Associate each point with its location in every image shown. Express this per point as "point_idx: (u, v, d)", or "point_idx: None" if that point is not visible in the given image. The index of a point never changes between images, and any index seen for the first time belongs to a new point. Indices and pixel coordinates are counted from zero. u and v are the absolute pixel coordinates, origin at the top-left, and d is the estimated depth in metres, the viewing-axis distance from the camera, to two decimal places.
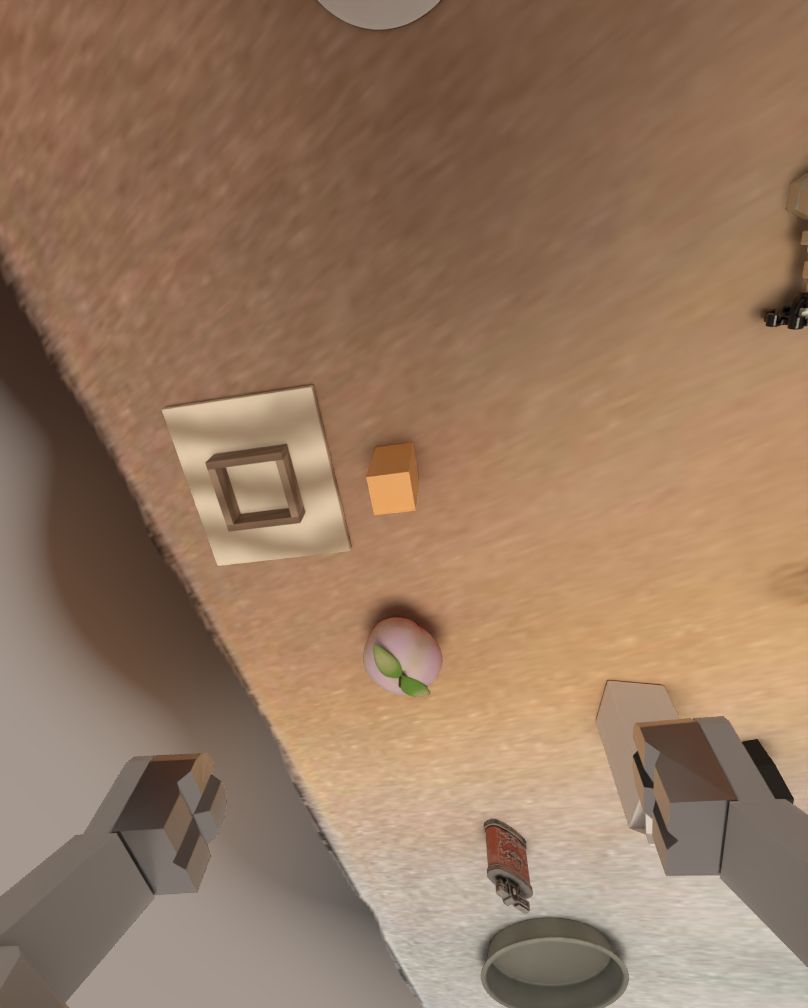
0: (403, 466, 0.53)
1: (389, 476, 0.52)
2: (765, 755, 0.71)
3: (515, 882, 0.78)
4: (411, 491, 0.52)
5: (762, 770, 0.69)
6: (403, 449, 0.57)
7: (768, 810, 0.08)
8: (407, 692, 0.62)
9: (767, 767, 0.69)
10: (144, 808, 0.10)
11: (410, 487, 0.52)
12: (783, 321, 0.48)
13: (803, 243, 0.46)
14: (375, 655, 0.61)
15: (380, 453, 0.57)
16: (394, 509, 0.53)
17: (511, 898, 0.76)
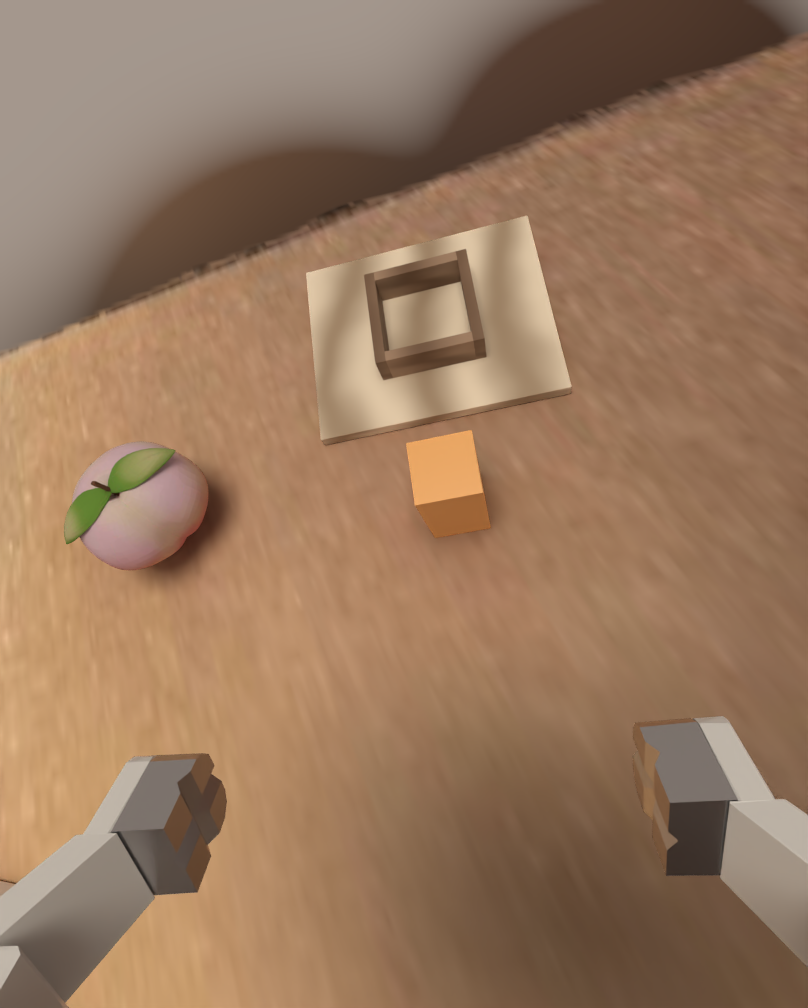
0: None
1: (474, 463, 0.33)
2: None
3: None
4: (448, 497, 0.32)
5: None
6: None
7: (768, 810, 0.08)
8: (77, 500, 0.36)
9: None
10: (144, 808, 0.10)
11: (455, 496, 0.32)
12: None
13: None
14: (154, 449, 0.37)
15: None
16: (415, 473, 0.33)
17: None
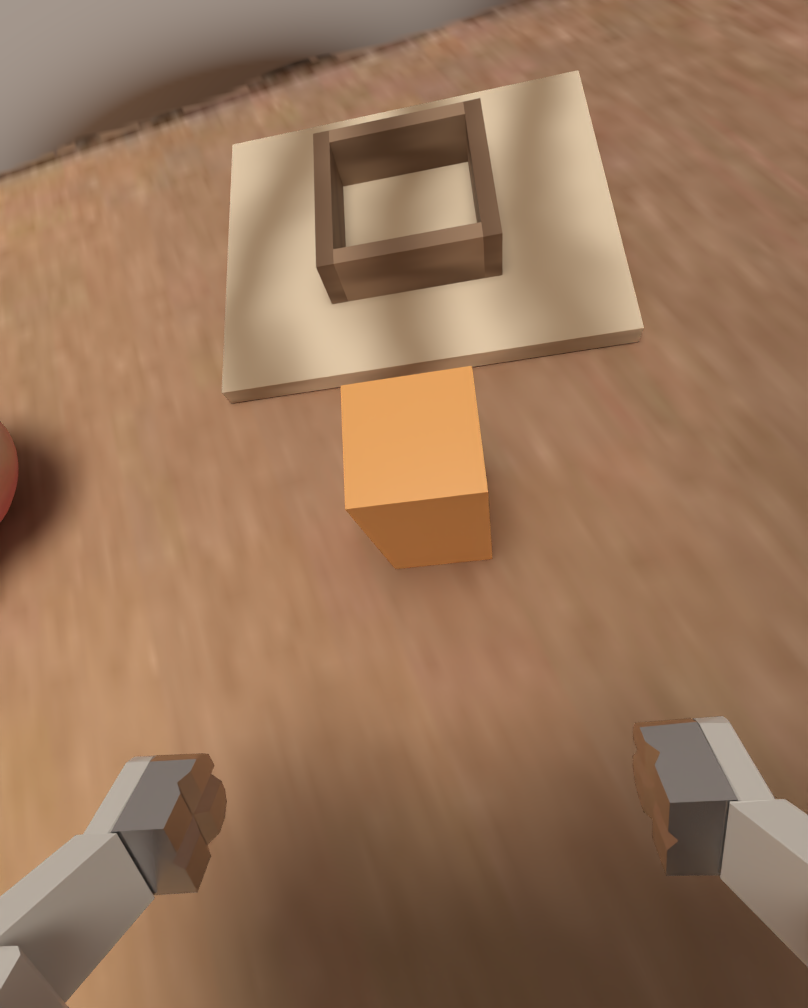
0: None
1: (472, 431, 0.16)
2: None
3: None
4: (414, 498, 0.16)
5: None
6: None
7: (768, 810, 0.08)
8: None
9: None
10: (144, 808, 0.10)
11: (429, 495, 0.15)
12: None
13: None
14: None
15: None
16: (353, 444, 0.16)
17: None
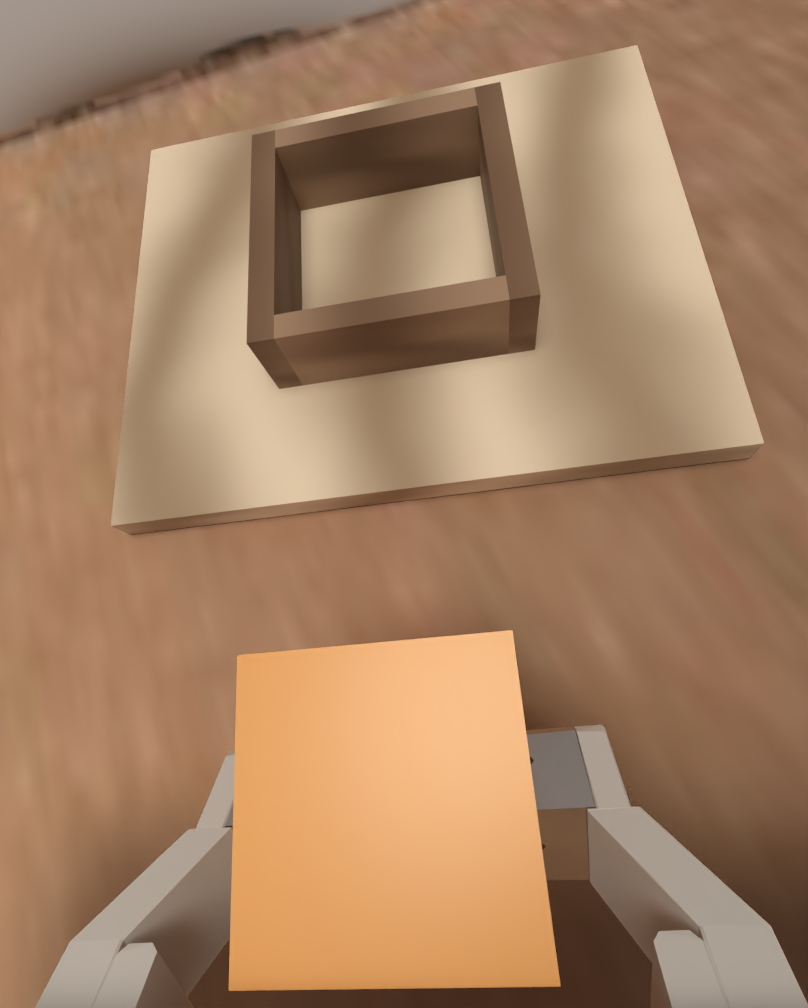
0: None
1: (518, 806, 0.07)
2: None
3: None
4: (386, 979, 0.07)
5: None
6: None
7: (621, 817, 0.08)
8: None
9: None
10: None
11: (421, 976, 0.07)
12: None
13: None
14: None
15: None
16: (256, 809, 0.07)
17: None
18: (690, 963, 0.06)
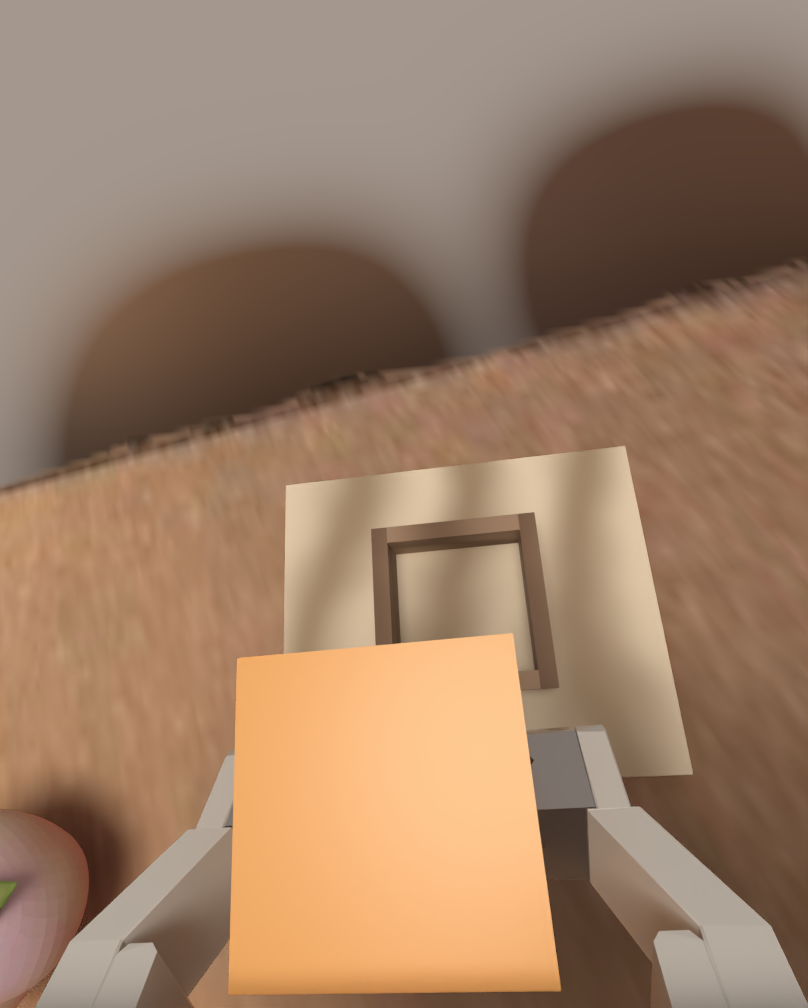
0: None
1: (519, 809, 0.07)
2: None
3: None
4: (387, 983, 0.07)
5: None
6: None
7: (621, 817, 0.08)
8: None
9: None
10: None
11: (422, 981, 0.07)
12: None
13: None
14: None
15: None
16: (255, 813, 0.07)
17: None
18: (690, 963, 0.06)
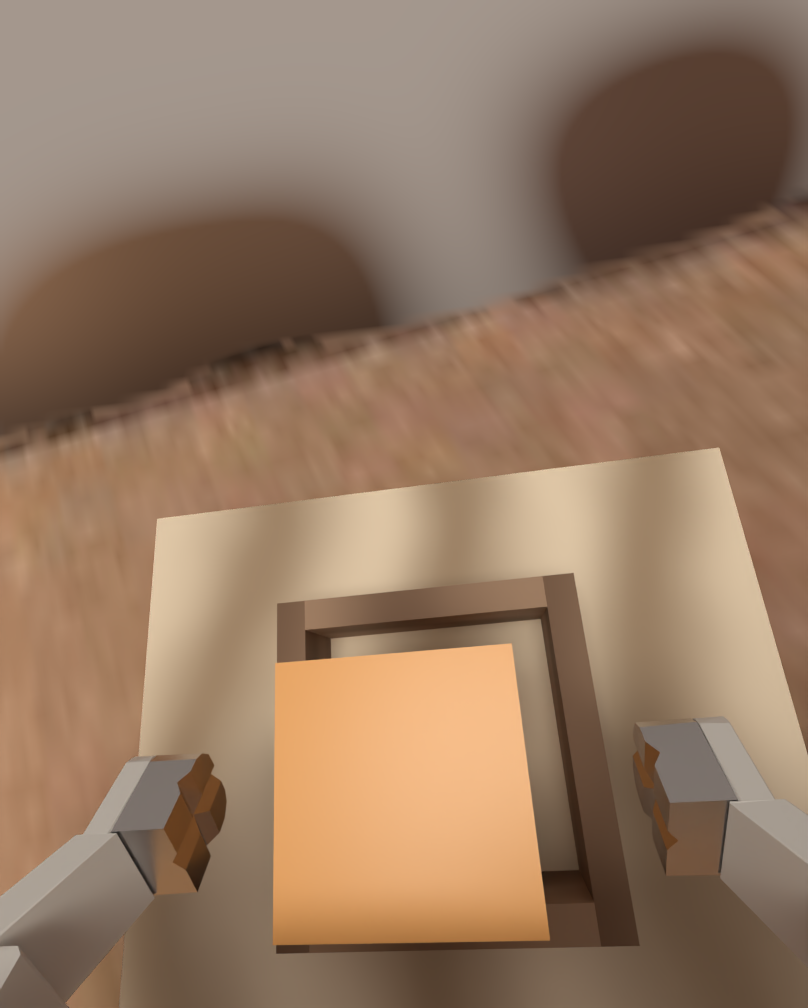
0: None
1: (515, 792, 0.08)
2: None
3: None
4: (405, 935, 0.08)
5: None
6: None
7: (768, 810, 0.08)
8: None
9: None
10: (144, 808, 0.10)
11: (435, 933, 0.08)
12: None
13: None
14: None
15: None
16: (293, 795, 0.09)
17: None
18: None
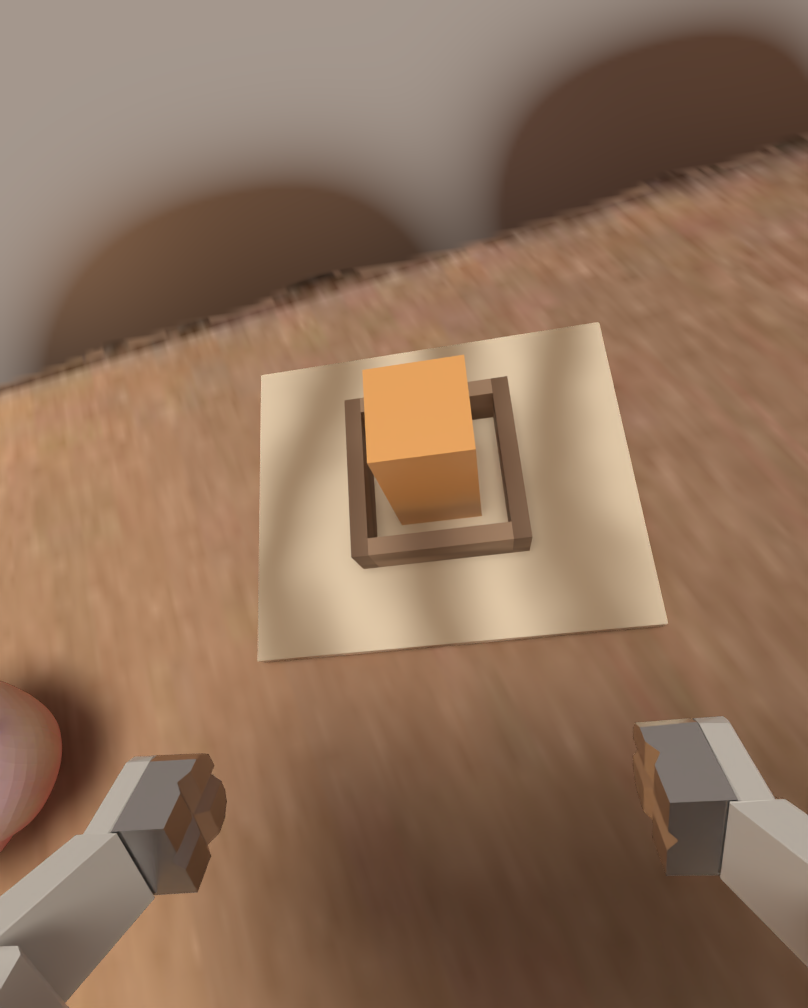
0: None
1: (464, 405, 0.21)
2: None
3: None
4: (420, 454, 0.20)
5: None
6: None
7: (768, 810, 0.08)
8: None
9: None
10: (144, 808, 0.10)
11: (431, 452, 0.20)
12: None
13: None
14: None
15: None
16: (373, 414, 0.21)
17: None
18: None
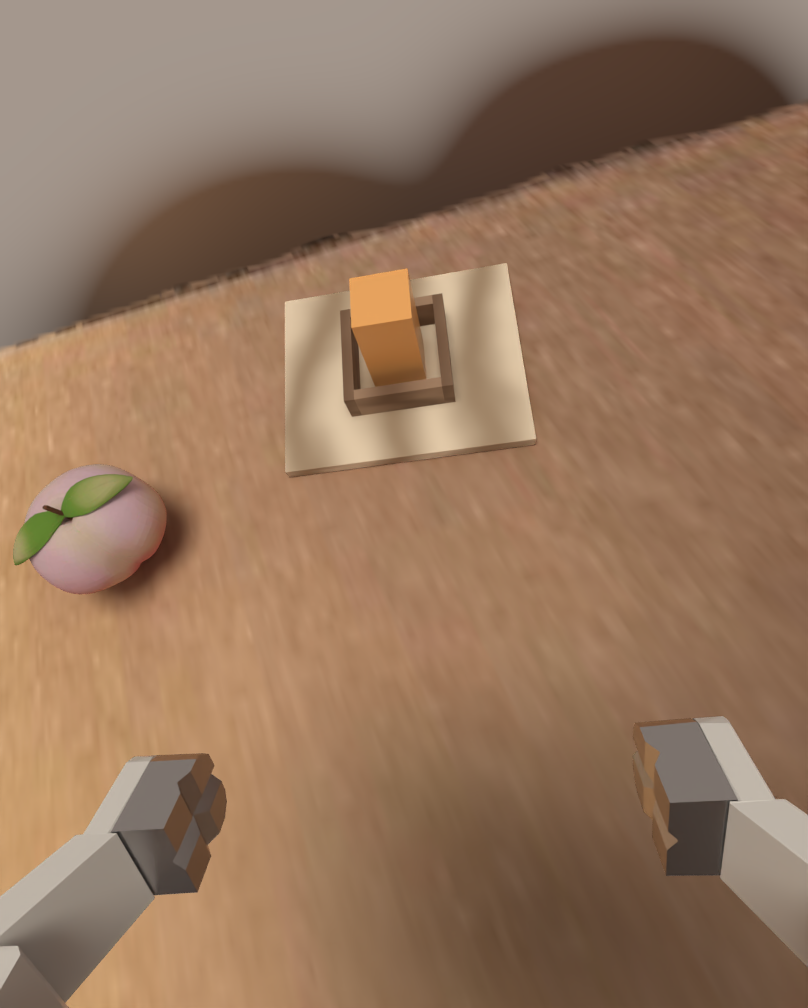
0: (414, 324, 0.38)
1: (406, 295, 0.37)
2: None
3: None
4: (381, 322, 0.36)
5: None
6: (422, 359, 0.42)
7: (768, 810, 0.08)
8: (28, 522, 0.36)
9: None
10: (144, 808, 0.10)
11: (387, 320, 0.36)
12: None
13: None
14: (111, 476, 0.37)
15: (420, 331, 0.43)
16: (355, 302, 0.37)
17: None
18: None
